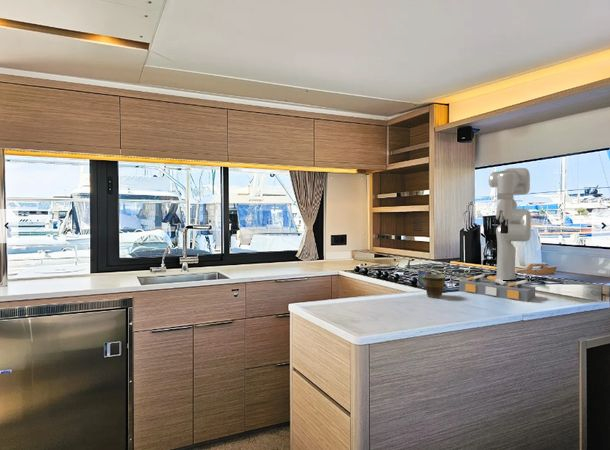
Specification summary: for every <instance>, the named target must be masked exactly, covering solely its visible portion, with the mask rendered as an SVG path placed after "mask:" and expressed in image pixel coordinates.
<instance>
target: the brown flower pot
mask: <svg viewBox="0 0 610 450" xmlns="http://www.w3.org/2000/svg"><path fill="white" fill-rule="evenodd" d="M419 278H422V279H423V280H424V282H425V286H423V285H422V284H421V283H420V282H419V281H418V279H419ZM419 278H418V277H417V283H418V282H419V283H420V284H421V285H422V286H423V287H422V288H424V289H425V292H426V296H427V298H432V299H439V298H442V297H443V292H444V286H445V281H446V276H445V275H443V274H437V273H431V274H426V275H424V278H423V277H419Z"/></svg>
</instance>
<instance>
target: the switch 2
mask: <svg viewBox="0 0 610 450" xmlns="http://www.w3.org/2000/svg"><path fill="white" fill-rule="evenodd" d="M486 280H490V281H494V282H497V283H499V284H502V285H504V284H506V283H507V281H503V280H501V279H498V278H496V277H494V275H488V276H487V277H486Z"/></svg>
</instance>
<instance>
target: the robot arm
mask: <svg viewBox="0 0 610 450" xmlns="http://www.w3.org/2000/svg"><path fill="white" fill-rule="evenodd" d="M488 185H489V186H490V188H496V194H497V195H496V201H497V202H496V203H497V204H496V210H495V211H496V212H495V219H496V220H499V223H500V224H499V225H498V226H497V227H496V228H495V229H496V230H495V234H496V244H497V247H496V248H497V250H496V253H497V254H496V255H497V256H496V274H495V275H493V277H496V278H498V279H501V280H509V279H514V278H516V277H517V276H516V256H517V255H516V254H517V253H516V246H515V245H514V244H513V243H512V242H521V243H522V242H523V243H524V242H525V243H526V242H528V241H529V240H530V238H531V232H532V231H531V230H532V229H531V228H532V226H531V223H532V215H531V212H530V210H529V209H525V208H517V206H518V203H517V202H516V200H515V197H514V196H516V195H517V196H521V195H523V196H524V195H528V194H529V192H530V191H531V175H530V172H529V170H528V168H526V167H510V168H505V169H503V170H500V171H494V172H493V171H492V172H491V173H490V175H489V176H488Z"/></svg>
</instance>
